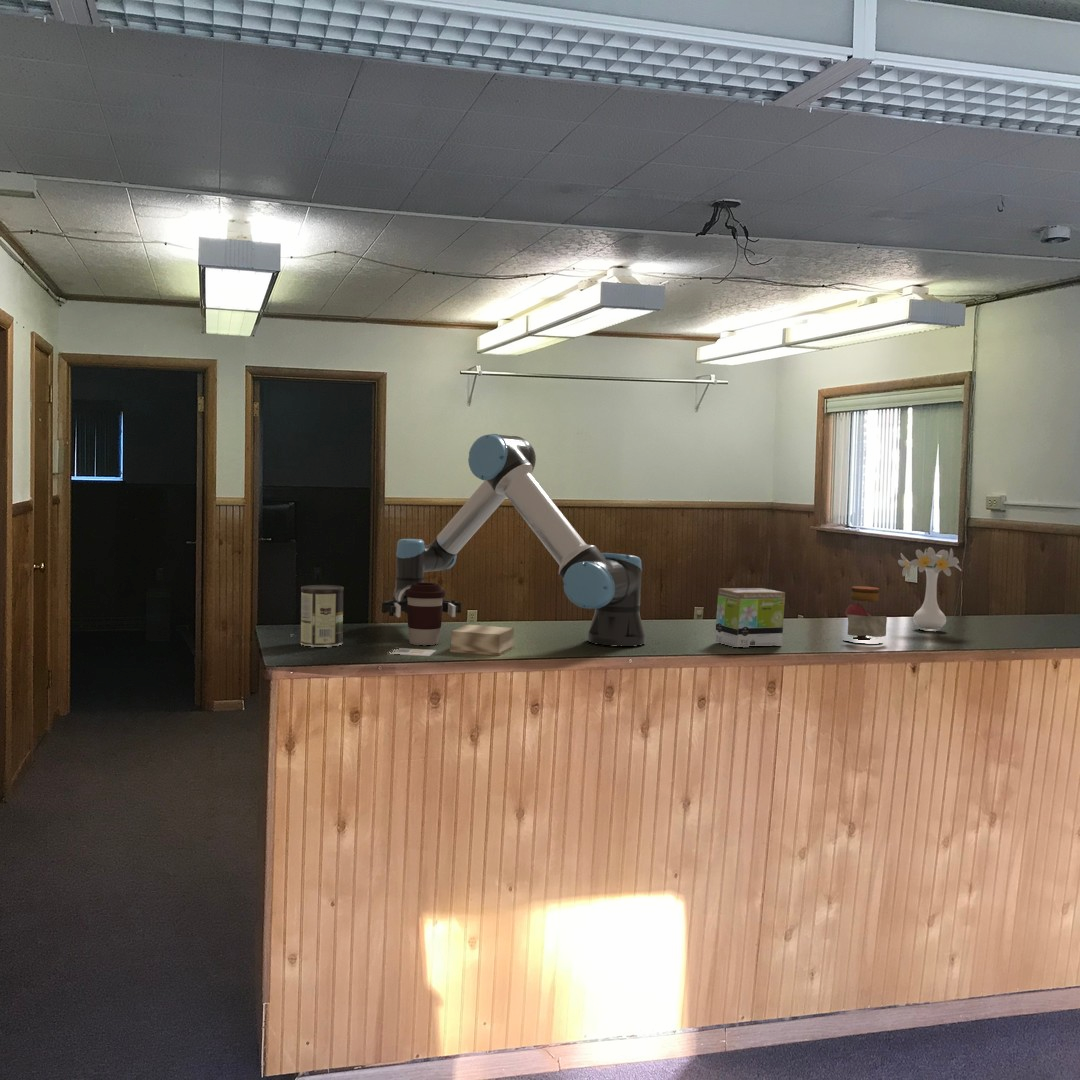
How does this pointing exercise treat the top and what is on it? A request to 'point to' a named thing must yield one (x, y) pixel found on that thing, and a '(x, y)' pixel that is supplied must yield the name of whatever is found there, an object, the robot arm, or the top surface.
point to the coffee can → (322, 615)
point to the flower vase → (930, 584)
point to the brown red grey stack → (864, 615)
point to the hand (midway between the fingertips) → (426, 611)
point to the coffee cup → (424, 613)
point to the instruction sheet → (413, 652)
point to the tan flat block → (482, 640)
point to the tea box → (749, 617)
